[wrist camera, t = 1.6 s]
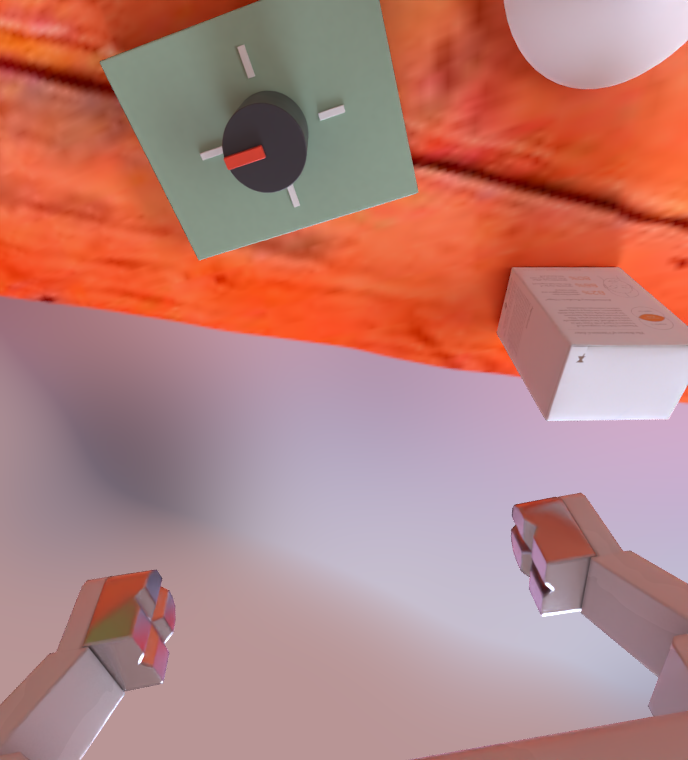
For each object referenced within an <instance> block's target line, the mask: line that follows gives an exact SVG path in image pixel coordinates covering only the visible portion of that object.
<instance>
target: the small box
mask: <svg viewBox="0 0 688 760" xmlns="http://www.w3.org/2000/svg"><path fill="white" fill-rule="evenodd" d="M497 335H498V337H499V338H500V340H501V342H502V344H503V346H504V347H505V349H506V351H507V353H508V355H509V356H510V358H511V360H512V362H513V363H514V365H515V367H516V369H517V371H518V372H519V374H520V376H521V378H522V379H523V381H524V383H525V385H526V386H527V388H528V390H529V392H530V394H531V396H532V397H533V399H534V401H535V402H536V404H537V406H538V407H539V410H540V411H541V413H542V415H543V417H544V418H545V420H546V421H578V420H579V421H581V420H582V421H583V420H648V419H649V420H650V419H669V417H670V416H671V414H672V412H673V411H674V409H675V407H676V405H677V404H678V402H679V400H680V398H681V396H682V394H683V392H684V391H685V389H686V387H687V385H688V326H687V325H686V324H685V323H683V322H682V321H681V320H680V319H679V318H678V317H676V316H675V315H674V314H673V313H672V312H671V311H669V310H668V309H667V308H666V307H665V306H664V305H663V304H661V303H660V302H659V301H658V300H657V299H656V298H654V297H653V296H652V295H651V294H650V293H649V292H647V291H646V290H645V289H644V288H643V287H642V286H640V285H639V284H638V283H637V282H636V281H635V280H633V279H632V278H631V277H630V276H629V275H628V274H626V273H625V272H624V271H623V270H622V269H621V268H619V267H512V269H511V274H510V278H509V283H508V287H507V291H506V295H505V299H504V304H503V308H502V312H501V316H500V320H499V325H498V329H497Z"/></svg>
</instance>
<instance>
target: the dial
mask: <svg viewBox="0 0 688 760" xmlns="http://www.w3.org/2000/svg"><path fill="white" fill-rule="evenodd" d="M308 137H309V132H308V125H307V121H306V118H305V116H304V114H303V112H302V110H301V109H300V107H299V106H298V105H297V104H296V103H295V102H294V101H293V100H292V99H291V98H289V97H288V96H286V95H284V94H282V93H279V92H276V91H261V92H257V93H255V94H253V95H251V96H249V97H248V98H247V99H246V100H244V102H243V103H242V104H241V105H240V106H239V108H238V109H237V110H236V112H235V113H234V114H233V115H232V117H231V118H230V119H229V121H228V123H227V125H226V127H225V130H224V133H223V139H222V149H223V155H224V161H225V164H226V166H227V169H228V170H230V171H231V173H232V174H233V175H234V177H235V178H236V179H237V180H238V181H239V182H240V183H242V184H243V185H244V186H246V187H248V188H250V189H252V190H254V191H258V192H263V193H274V192H278V191H281V190H284V189H286V188H288V187H289V186H291V185H292V184H293V183H294V182H295V181H296V180H297V179H298V178H299V176H300V175H301V173H302V171H303V169H304V166H305V163H306V157H307V148H308Z"/></svg>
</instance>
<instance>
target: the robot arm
mask: <svg viewBox="0 0 688 760" xmlns="http://www.w3.org/2000/svg"><path fill="white" fill-rule="evenodd" d="M512 518H513V520H514V522H515V524H516V525H515V526H514V527H513V528H512V529H511V542H512V546H513V552H514V555H515V558H516V561H517V563H518V566H519V568H520V570H521V571H522V572H523V573H524V574H526V575H527V576H529V577H530V581H529V590H530V592H531V595H532V597H533V599H534V601H535V603H536V605H537V607H538V610H539V612H540V614H541V616H548V615H554V614H561V613H568V612H575V611H581V613H582V614H583V615H584V616H585V617H586V618H588V619H589V620H590V621H591V622H593V623H594V624H595V625H596V626H597V627H598V628H600V629H601V630H602V631H603V632H604V633H606V634H607V635H608V636H609V637H610V638H612V639H613V640H614V641H615V642H616V643H618V644H619V645H620V646H621V647H622V648H624V649H625V650H626V651H627V652H628V653H630V654H631V655H632V656H633V657H635V658H636V659H637V660H638V661H639V662H640V663H642V664H643V665H644V666H645V667H646V668H648V669H649V670H650V671H651V672H653V673H654V674H655V675H656V676H657V677H658V681H657V684H656V686H655V689H654V692H653V694H652V697H651V700H650V702H649V705H648V707H649V709H650V711H651V713H652V715H653V716H654V717H648V718H643V719H637V720H632V721H626V722H620V723H615V724H609V725H603V726H597V727H592V728H586V729H580V730H575V731H569V732H563V733H557V734H552V735H546V736H540V737H535V738H529V739H523V740H518V741H512V742H507V743H501V744H495V745H489V746H484V747H478V748H472V749H466V750H461V751H455V752H449V753H444V754H438V755H432V756H427V757H421V758H415V759H410V760H688V584H687V583H685V582H684V581H682V580H680V579H678V578H677V577H675V576H673V575H672V574H670V573H668V572H666V571H665V570H663V569H661V568H659V567H658V566H656V565H654V564H653V563H651V562H649V561H647V560H646V559H644V558H642V557H640V556H639V555H637V554H635V553H634V552H632V551H624V552H623V550H622V549H621V547H620V546H619V545H618V543H617V542H616V540H615V539H614V537H613V536H612V534H611V533H610V531H609V530H608V528H607V527H606V525H605V524H604V523H603V521H602V520H601V518H600V517H599V515H598V514H597V512H596V511H595V510H594V508H593V506H592V505H591V504H590V502H589V501H588V499H587V498H586V496H585V495H583V494H582V493H577V494H572V495H566V496H561V497H552V498H547V499H542V500H537V501H531V502H527V503H521V504H516V505H514V506H513V508H512ZM161 582H162V577H161V576H160V574H159V573H158V571H157V570H150V571H143V572H137V573H130V574H124V575H117V576H110V577H105V578H99V579H92V580H87V581H86V583H85V584H84V585H83V586H82V588H81V590H80V592H79V595H78V598H77V600H76V603H75V605H74V608H73V610H72V613H71V615H70V618H69V620H68V623H67V626H66V628H65V631H64V633H63V636H62V639H61V641H60V644H59V646H58V649H57V651H56V652H55V653H50V654H49V655H48V656H47V657H46V658H45V659H44V660H43V661H42V662H41V663H40V664H39V665H38V666H37V667H36V668H35V669H34V670H33V671H32V672H31V673H30V674H29V675H28V676H27V678H26V679H25V680H24V681H23V682H22V683H21V684H20V685H19V686H18V687H17V688H16V689H15V690H14V691H13V692H12V693H11V694H10V695H9V696H8V697H7V698H6V699H5V700H4V702H2V704H1V705H0V760H81V758H82V757H83V755H84V754H85V753H86V751H87V750H88V748H89V746H90V745H91V744H92V742H93V741H94V739H95V738H96V736H97V734H98V733H99V732H100V730H101V729H102V727H103V726H104V724H105V723H106V721H107V720H108V718H109V717H110V715H111V714H112V712H113V711H114V709H115V708H116V706H117V705H118V704H119V702H120V701H121V699H122V698H123V696H124V695H125V693H124V691H129V690H134V689H139V688H144V687H149V686H153V685H158V684H162V683H163V681H164V677H165V671H166V666H167V662H168V656H169V651H168V650H167V648H166V646H165V643H166V641H167V640H168V639H169V637H170V636H171V635H172V634H173V631H174V626H175V604H174V600H173V597H172V595H171V593H170V591H169V590H167V589H165V588H163V587H161Z"/></svg>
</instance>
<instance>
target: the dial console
mask: <svg viewBox="0 0 688 760" xmlns="http://www.w3.org/2000/svg"><path fill="white" fill-rule="evenodd" d="M100 64H101V66H102V68H103V70H104V72H105V74H106V76H107V78H108V80H109V82H110V84H111V86H112V88H113V90H114V92H115V94H116V96H117V98H118V100H119V102H120V104H121V106H122V108H123V110H124V112H125V114H126V116H127V118H128V120H129V122H130V124H131V126H132V128H133V130H134V132H135V134H136V136H137V138H138V140H139V142H140V144H141V146H142V148H143V150H144V152H145V154H146V156H147V158H148V160H149V162H150V164H151V166H152V168H153V170H154V172H155V174H156V176H157V178H158V180H159V182H160V184H161V186H162V188H163V190H164V192H165V194H166V196H167V198H168V200H169V202H170V204H171V206H172V208H173V210H174V212H175V214H176V216H177V218H178V220H179V222H180V224H181V226H182V228H183V230H184V232H185V234H186V236H187V238H188V240H189V242H190V244H191V246H192V248H193V250H194V252H195V254H196V256H197V258H198V260H202V259H205V258H208V257H212V256H215V255H218V254H221V253H225V252H228V251H231V250H234V249H238V248H241V247H244V246H247V245H251V244H254V243H257V242H260V241H264V240H267V239H270V238H273V237H277V236H280V235H283V234H286V233H290V232H293V231H296V230H299V229H303V228H306V227H309V226H312V225H316V224H319V223H322V222H325V221H329V220H332V219H335V218H338V217H342V216H345V215H348V214H351V213H355V212H358V211H361V210H364V209H368V208H371V207H374V206H377V205H381V204H384V203H387V202H390V201H394V200H397V199H400V198H403V197H407V196H410V195H413V194H416V193H418V187H417V182H416V178H415V173H414V168H413V163H412V158H411V153H410V148H409V143H408V138H407V133H406V128H405V124H404V119H403V114H402V109H401V104H400V99H399V94H398V89H397V84H396V79H395V74H394V70H393V65H392V60H391V55H390V50H389V45H388V40H387V35H386V30H385V25H384V20H383V16H382V11H381V6H380V1H379V0H259V1H257V2H254V3H251V4H249V5H246V6H244V7H241V8H238V9H236V10H233V11H230V12H228V13H225V14H223V15H220V16H217V17H215V18H212V19H209V20H207V21H204V22H202V23H199V24H196V25H194V26H191V27H188V28H186V29H183V30H181V31H178V32H175V33H173V34H170V35H167V36H165V37H162V38H160V39H157V40H154V41H152V42H149V43H146V44H144V45H141V46H139V47H136V48H133V49H131V50H128V51H125V52H123V53H120V54H118V55H115V56H112V57H110V58H107V59H104V60H102V61H100ZM261 91H276V92H279V93H282V94H284V95H286V96H288V97H289V98H291V99H292V100H293V101H294V102H295V103H296V104H297V105H298V106H299V107H300V109H301V110H302V112H303V114H304V116H305V118H306V121H307V125H308V132H309V137H308V148H307V157H306V163H305V166H304V169H303V171H302V173H301V175H300V176H299V178H298V179H297V180H296V181H295V182H294V183H293V184H292V185H291V186H289V187H288V188H286V189H284V190H281V191H278V192H274V193H263V192H258V191H254V190H252V189H250V188H248V187H246V186H244V185H243V184H242V183H240V182H239V181H238V180H237V179H236V178H235V177H234V175H233V174H232V173H231V171H230V170H228V169H227V166H226V164H225V161H224V155H223V149H222V139H223V133H224V130H225V127H226V125H227V123H228V121H229V119H230V118H231V117H232V115H233V114H234V113H235V112H236V110H237V109H238V108H239V106H240V105H241V104H242V103H243V102H244V100H246V99H247V98H248V97H249V96H251V95H253V94H255V93H257V92H261Z"/></svg>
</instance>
